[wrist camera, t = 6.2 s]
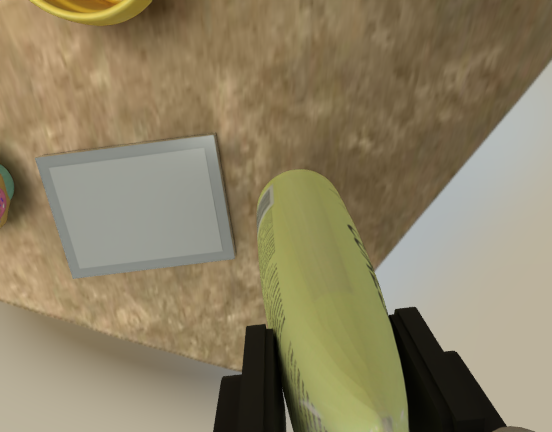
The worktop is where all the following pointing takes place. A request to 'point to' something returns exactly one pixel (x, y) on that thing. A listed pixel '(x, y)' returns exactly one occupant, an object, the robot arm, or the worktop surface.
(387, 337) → the tube
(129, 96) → the worktop surface
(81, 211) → the grey flat block
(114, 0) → the plant pot
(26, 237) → the worktop surface
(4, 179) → the cupcake
